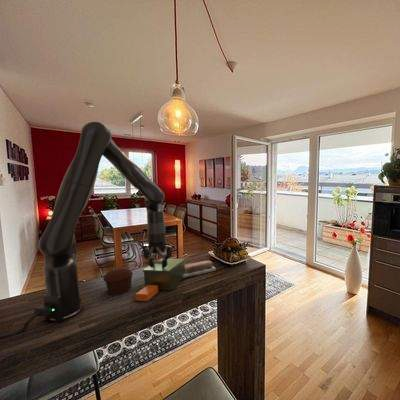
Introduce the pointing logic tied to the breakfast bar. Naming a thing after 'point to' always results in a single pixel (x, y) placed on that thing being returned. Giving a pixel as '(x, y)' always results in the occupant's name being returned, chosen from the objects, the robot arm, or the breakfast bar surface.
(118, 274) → the muffin
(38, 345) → the breakfast bar surface
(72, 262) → the robot arm
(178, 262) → the lid
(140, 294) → the block
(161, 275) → the green box
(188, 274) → the packaged product
